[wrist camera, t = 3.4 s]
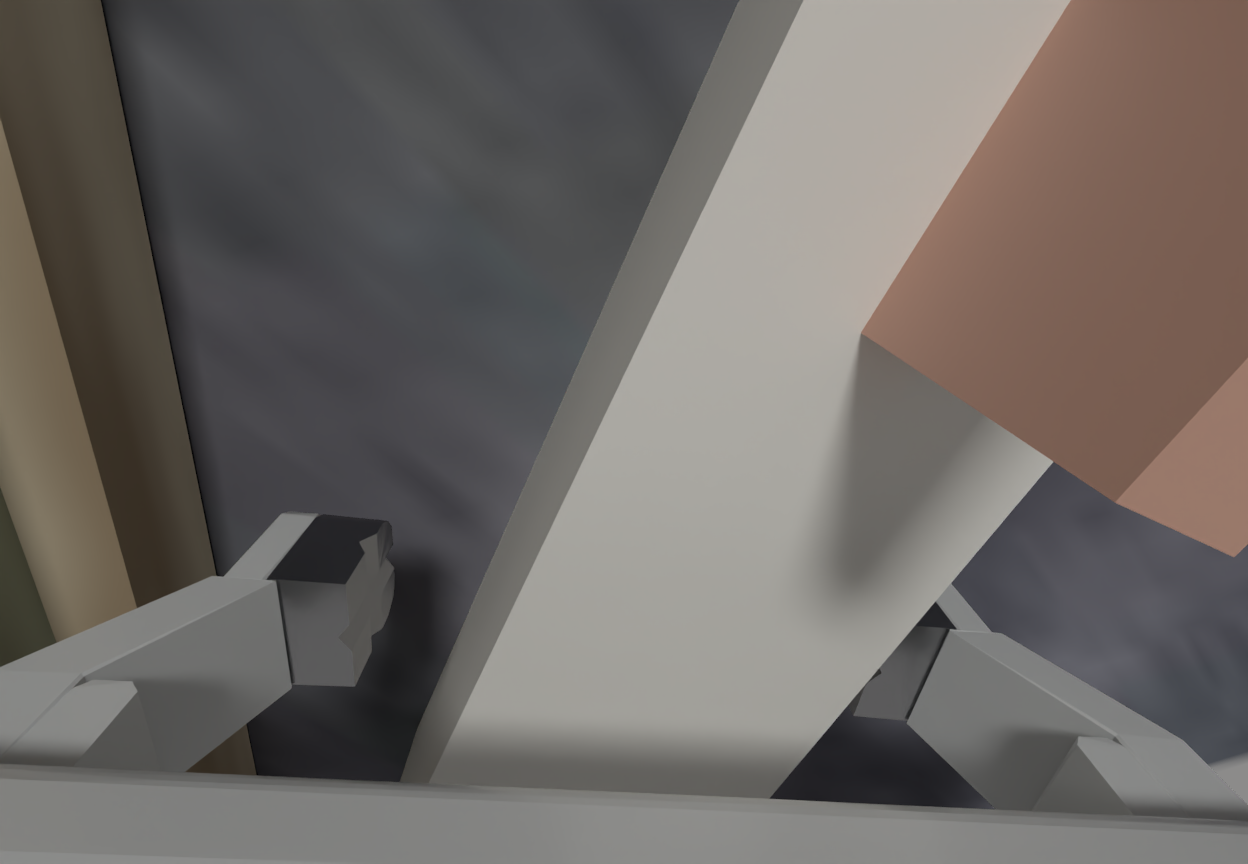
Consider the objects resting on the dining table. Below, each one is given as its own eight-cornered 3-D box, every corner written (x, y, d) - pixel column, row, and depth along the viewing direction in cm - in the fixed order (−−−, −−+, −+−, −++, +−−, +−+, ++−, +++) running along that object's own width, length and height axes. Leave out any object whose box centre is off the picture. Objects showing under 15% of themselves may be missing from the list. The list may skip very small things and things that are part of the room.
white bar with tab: (979, 148, 9) (2232, 108, 2) (588, 766, 15) (574, 1311, 8) (735, 6, 9) (1482, -872, 1) (419, 720, 14) (234, 1287, 7)
